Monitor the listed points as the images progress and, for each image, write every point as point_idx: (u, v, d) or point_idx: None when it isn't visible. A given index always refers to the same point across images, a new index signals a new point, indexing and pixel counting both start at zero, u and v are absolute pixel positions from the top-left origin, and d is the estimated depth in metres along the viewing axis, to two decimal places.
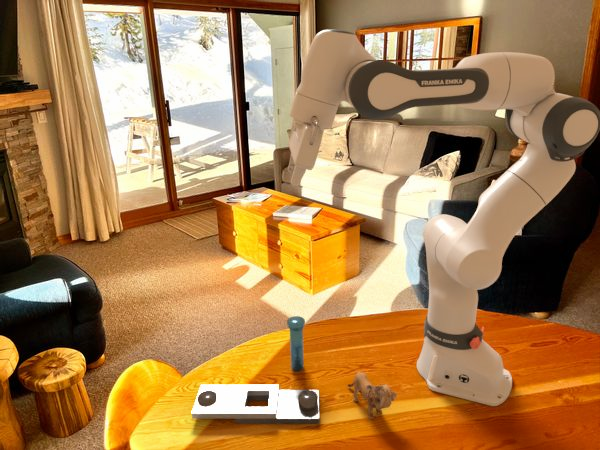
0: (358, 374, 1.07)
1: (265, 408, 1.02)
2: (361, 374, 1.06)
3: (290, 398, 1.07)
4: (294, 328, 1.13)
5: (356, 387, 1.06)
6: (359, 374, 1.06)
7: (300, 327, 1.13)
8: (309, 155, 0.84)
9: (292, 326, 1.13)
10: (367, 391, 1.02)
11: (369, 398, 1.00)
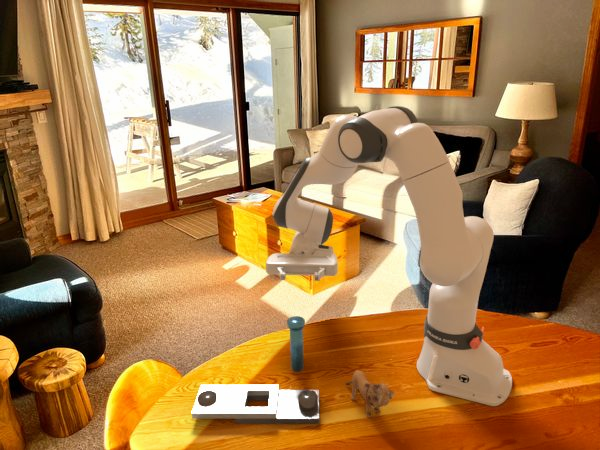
0: (356, 373, 1.07)
1: (265, 408, 1.02)
2: (359, 373, 1.07)
3: (290, 398, 1.07)
4: (294, 328, 1.13)
5: (354, 385, 1.07)
6: (357, 373, 1.07)
7: (300, 327, 1.13)
8: None
9: (292, 326, 1.13)
10: (365, 389, 1.02)
11: (367, 396, 1.01)
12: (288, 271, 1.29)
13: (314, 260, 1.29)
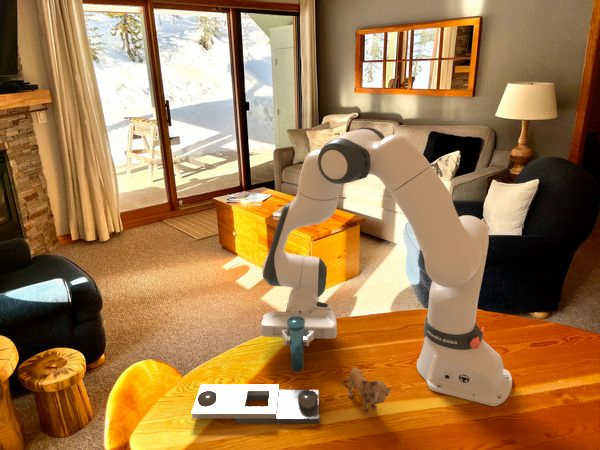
0: (353, 370, 1.08)
1: (265, 408, 1.02)
2: (356, 370, 1.08)
3: (290, 398, 1.07)
4: (294, 328, 1.13)
5: (351, 383, 1.08)
6: (354, 370, 1.08)
7: (300, 327, 1.13)
8: None
9: (292, 326, 1.13)
10: (362, 386, 1.03)
11: (364, 393, 1.02)
12: None
13: (312, 321, 1.21)
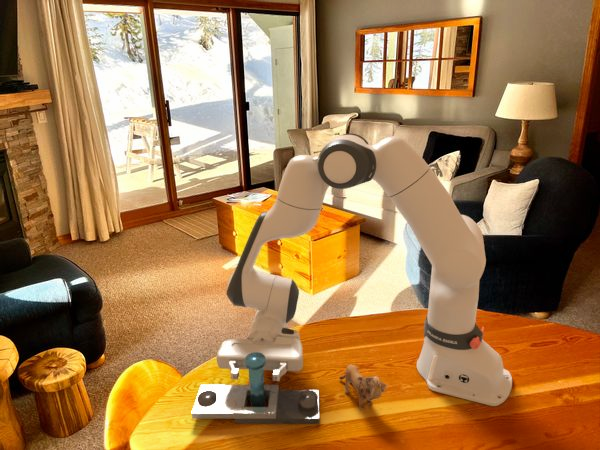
0: (349, 366, 1.09)
1: (265, 408, 1.02)
2: (352, 366, 1.09)
3: (290, 398, 1.07)
4: (252, 367, 0.99)
5: (347, 379, 1.09)
6: (350, 366, 1.09)
7: (259, 366, 0.99)
8: None
9: (250, 365, 0.99)
10: (358, 383, 1.05)
11: (360, 389, 1.03)
12: (243, 365, 1.07)
13: (275, 351, 1.07)
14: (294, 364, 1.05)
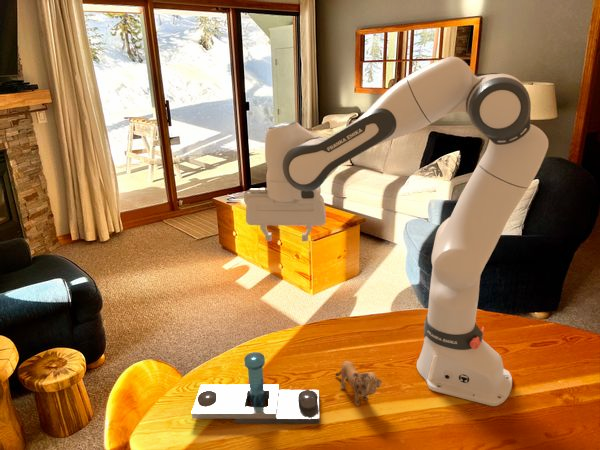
0: (345, 363, 1.10)
1: (265, 408, 1.02)
2: (348, 363, 1.10)
3: (290, 398, 1.07)
4: (252, 367, 0.99)
5: (343, 375, 1.10)
6: (346, 363, 1.10)
7: (258, 366, 0.99)
8: None
9: (249, 365, 0.99)
10: (353, 379, 1.06)
11: (355, 385, 1.04)
12: None
13: (299, 216, 1.14)
14: None
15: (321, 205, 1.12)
